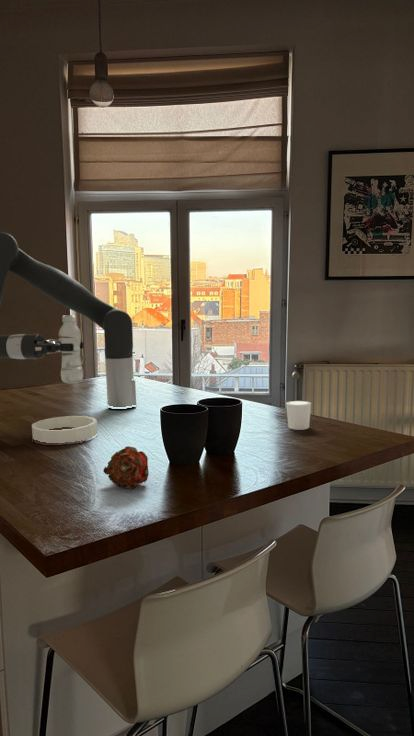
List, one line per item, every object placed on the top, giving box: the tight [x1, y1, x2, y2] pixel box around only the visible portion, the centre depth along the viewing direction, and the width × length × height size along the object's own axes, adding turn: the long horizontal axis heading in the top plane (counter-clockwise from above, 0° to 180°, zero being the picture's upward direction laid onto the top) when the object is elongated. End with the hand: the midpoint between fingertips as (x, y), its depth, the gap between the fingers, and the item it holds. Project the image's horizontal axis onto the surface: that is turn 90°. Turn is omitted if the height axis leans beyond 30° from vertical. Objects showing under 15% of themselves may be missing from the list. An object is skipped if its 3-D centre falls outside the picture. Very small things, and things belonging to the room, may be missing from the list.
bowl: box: [31, 415, 99, 443], centre depth 152 cm, size 17×17×4 cm
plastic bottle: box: [58, 314, 84, 384], centre depth 165 cm, size 6×7×20 cm
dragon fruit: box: [103, 445, 150, 490], centre depth 112 cm, size 8×8×12 cm
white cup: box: [285, 400, 312, 431], centre depth 155 cm, size 7×7×7 cm
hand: (78, 346), depth 164 cm, fingers closed on plastic bottle, 6 cm apart
